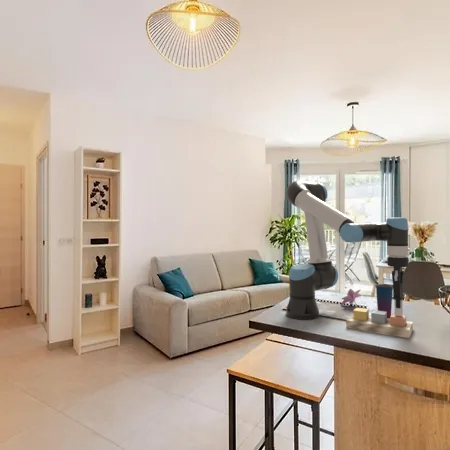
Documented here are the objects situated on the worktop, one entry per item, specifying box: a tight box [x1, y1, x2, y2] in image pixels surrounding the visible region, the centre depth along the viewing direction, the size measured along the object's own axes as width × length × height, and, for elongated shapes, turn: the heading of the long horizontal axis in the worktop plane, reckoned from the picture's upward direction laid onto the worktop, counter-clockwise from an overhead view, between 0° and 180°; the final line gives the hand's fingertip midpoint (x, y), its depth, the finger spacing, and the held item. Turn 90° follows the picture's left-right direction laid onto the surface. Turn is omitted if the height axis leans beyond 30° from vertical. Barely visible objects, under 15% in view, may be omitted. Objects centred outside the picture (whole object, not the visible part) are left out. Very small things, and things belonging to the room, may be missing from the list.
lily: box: [340, 288, 362, 308], centre depth 168 cm, size 12×12×10 cm
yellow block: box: [352, 307, 370, 321], centre depth 139 cm, size 5×5×4 cm
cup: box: [375, 283, 393, 318], centre depth 147 cm, size 7×7×15 cm
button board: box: [345, 314, 414, 339], centre depth 135 cm, size 23×12×3 cm, turn 55°
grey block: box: [370, 309, 387, 324], centre depth 135 cm, size 5×5×4 cm
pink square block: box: [390, 313, 407, 327], centre depth 131 cm, size 5×5×4 cm
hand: (398, 315), depth 130 cm, fingers closed
